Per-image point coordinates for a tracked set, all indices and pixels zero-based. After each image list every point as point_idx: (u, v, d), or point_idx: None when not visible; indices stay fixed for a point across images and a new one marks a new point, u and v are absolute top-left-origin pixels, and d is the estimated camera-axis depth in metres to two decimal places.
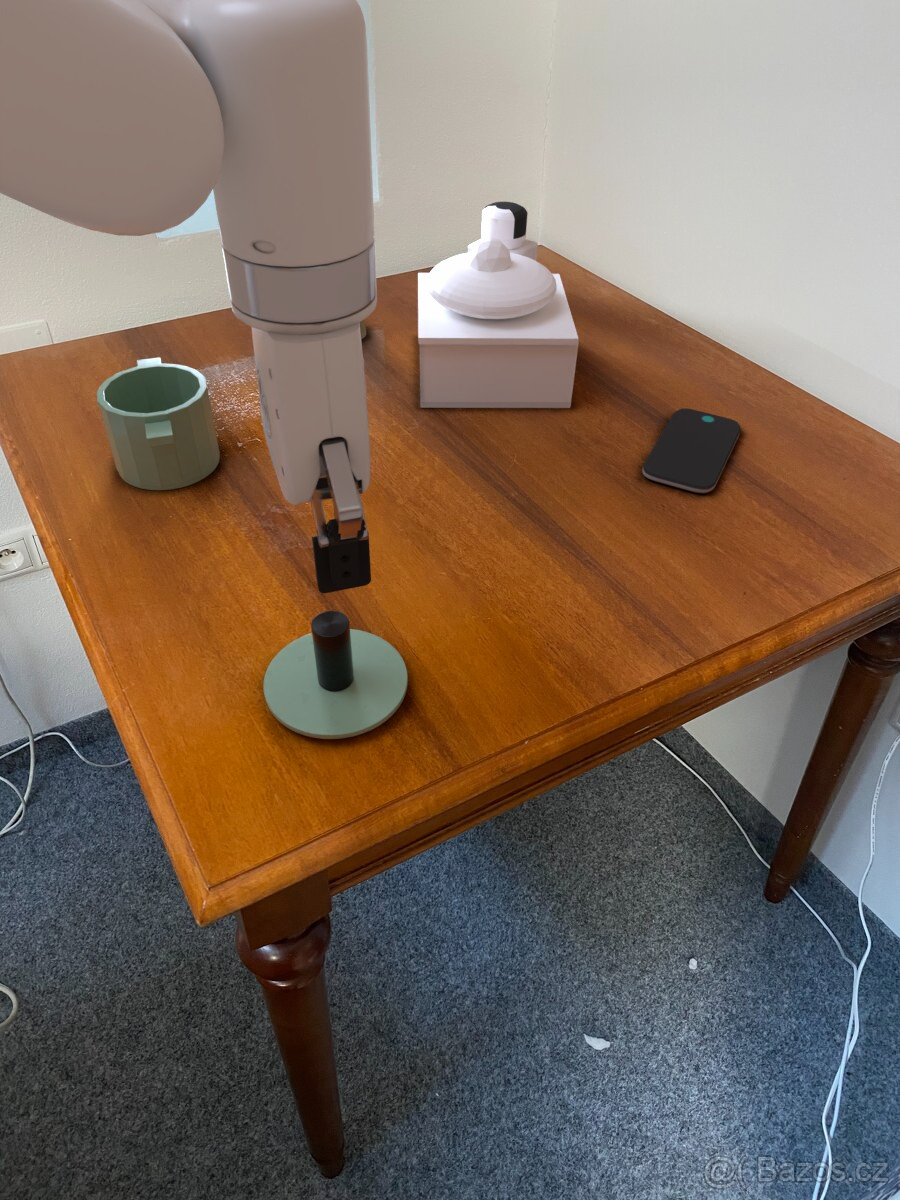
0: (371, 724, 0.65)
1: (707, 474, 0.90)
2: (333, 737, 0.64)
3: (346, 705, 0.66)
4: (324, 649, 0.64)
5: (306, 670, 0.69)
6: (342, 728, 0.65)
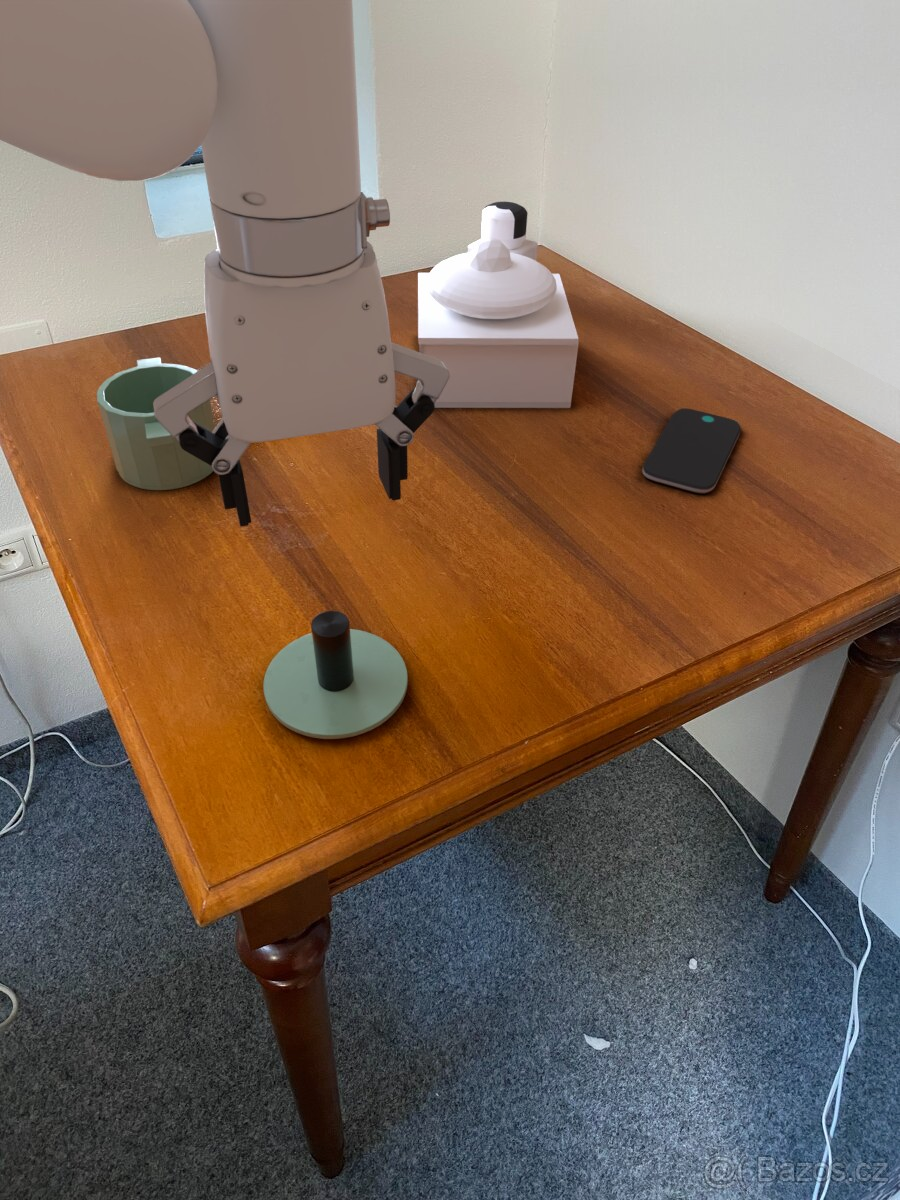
0: (371, 724, 0.65)
1: (707, 474, 0.90)
2: (333, 737, 0.64)
3: (346, 705, 0.66)
4: (324, 649, 0.64)
5: (306, 670, 0.69)
6: (342, 728, 0.65)
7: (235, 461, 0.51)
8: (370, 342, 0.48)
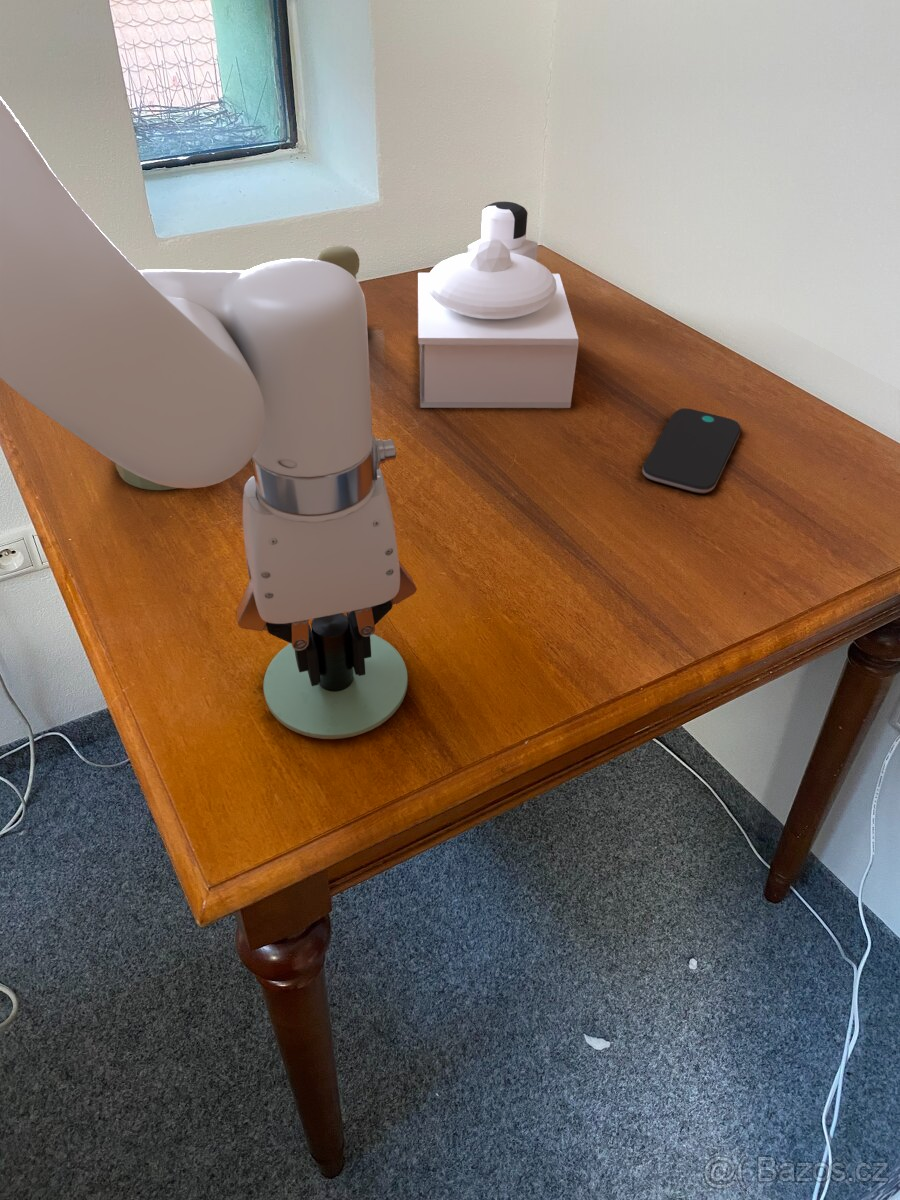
0: (371, 724, 0.65)
1: (707, 474, 0.90)
2: (333, 737, 0.64)
3: (346, 705, 0.66)
4: (325, 649, 0.64)
5: None
6: (342, 728, 0.65)
7: (307, 637, 0.63)
8: (379, 548, 0.58)
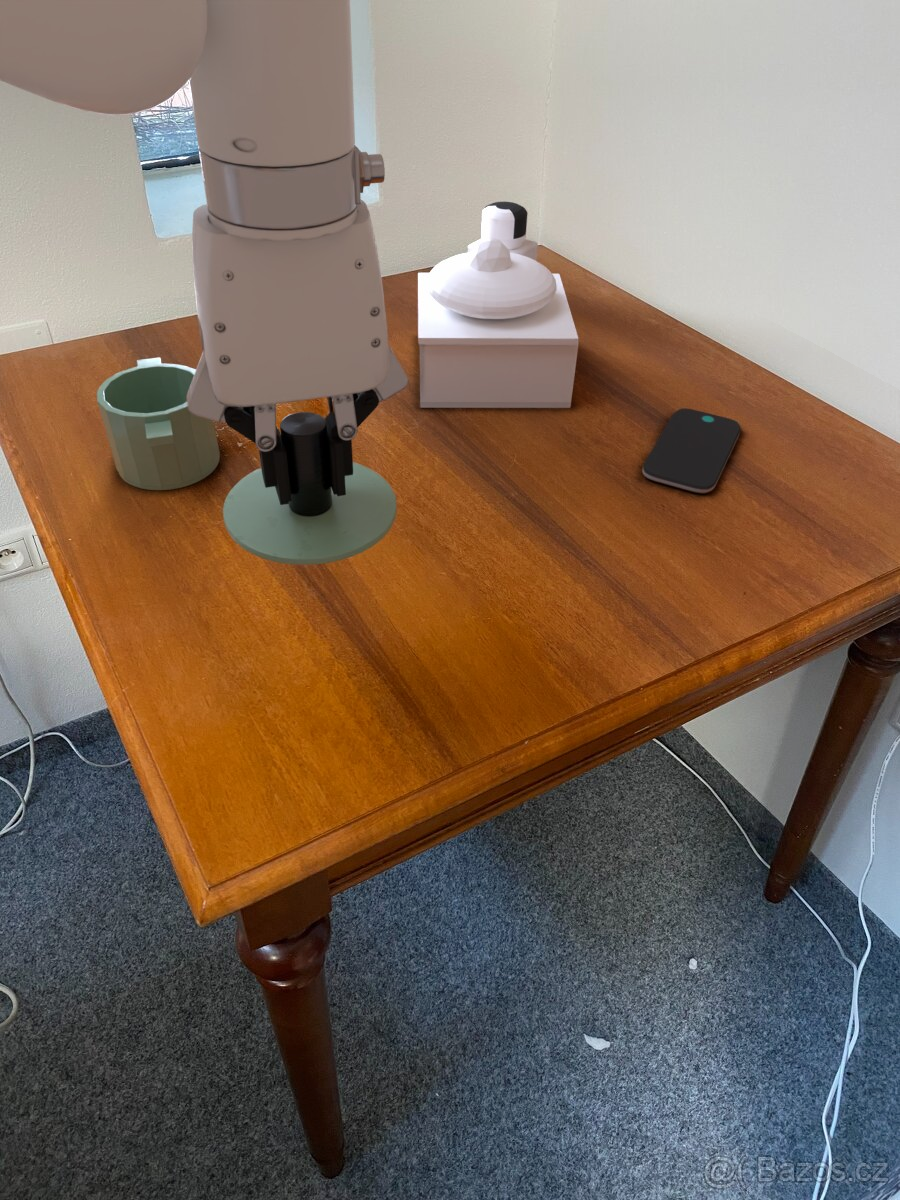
0: (351, 549, 0.54)
1: (707, 474, 0.90)
2: (305, 562, 0.53)
3: (322, 530, 0.55)
4: (296, 454, 0.53)
5: (275, 495, 0.58)
6: (316, 552, 0.53)
7: (274, 432, 0.51)
8: (363, 303, 0.47)
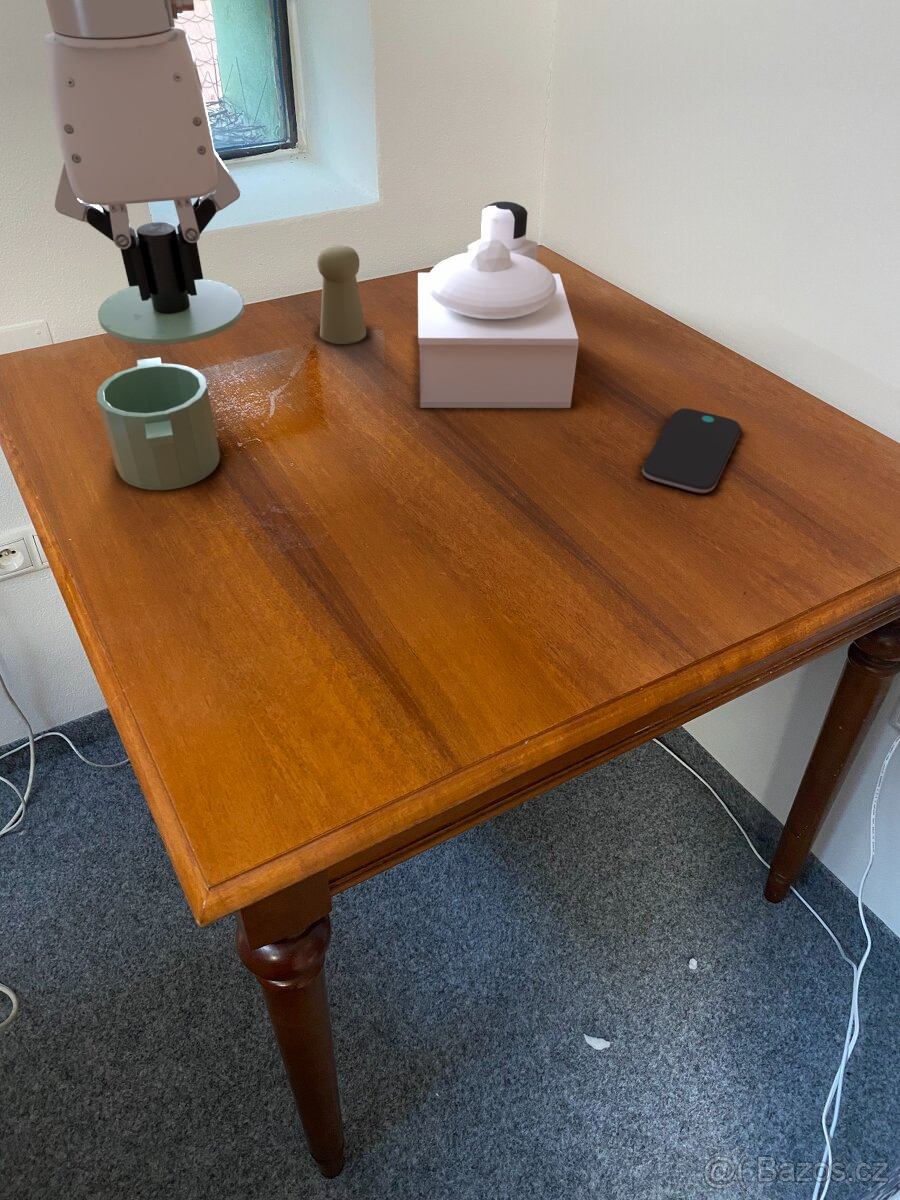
0: (197, 333, 0.66)
1: (707, 474, 0.90)
2: (158, 342, 0.65)
3: (176, 322, 0.67)
4: (150, 254, 0.65)
5: (144, 301, 0.70)
6: (167, 335, 0.66)
7: (128, 231, 0.63)
8: (185, 113, 0.59)
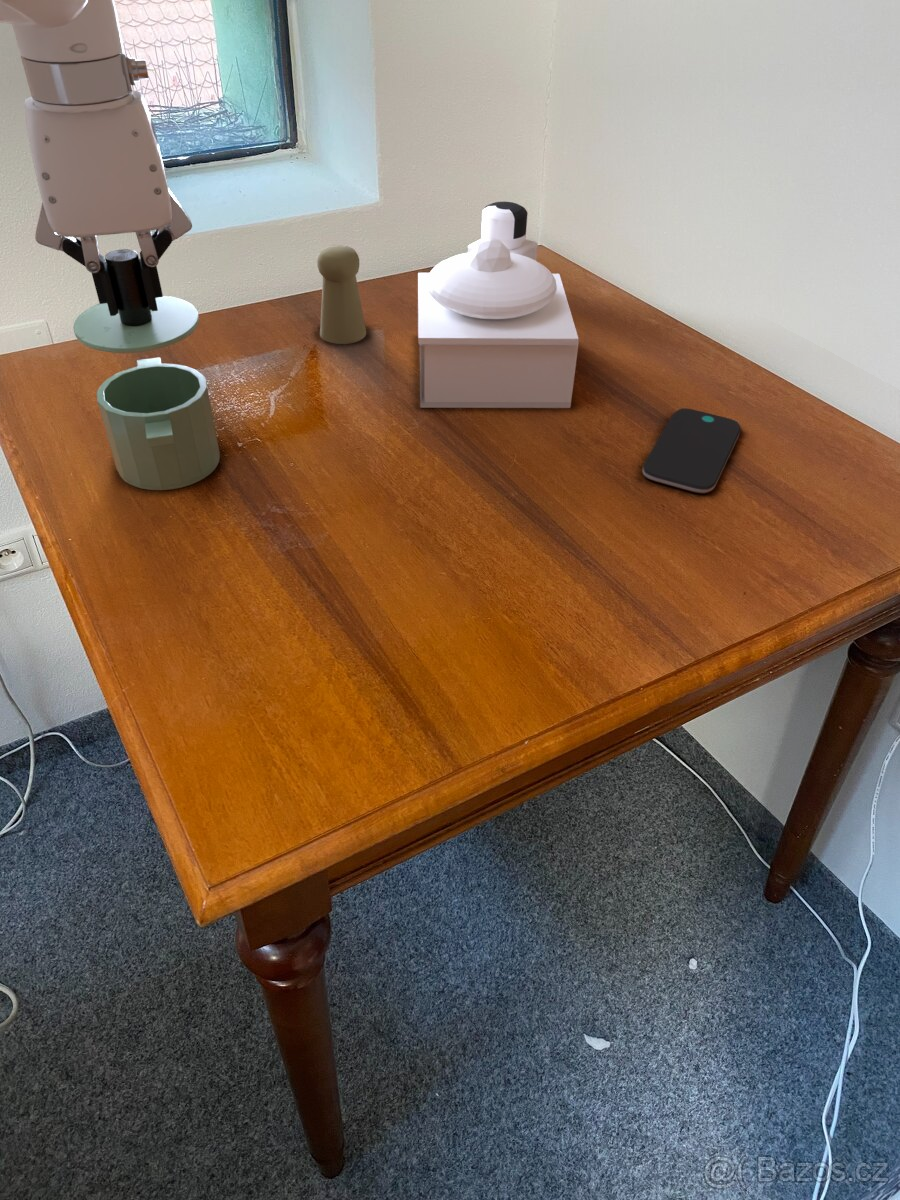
0: (158, 343, 0.78)
1: (707, 474, 0.90)
2: (124, 351, 0.77)
3: (140, 333, 0.79)
4: (116, 276, 0.77)
5: None
6: (132, 344, 0.78)
7: (97, 258, 0.76)
8: (143, 161, 0.71)
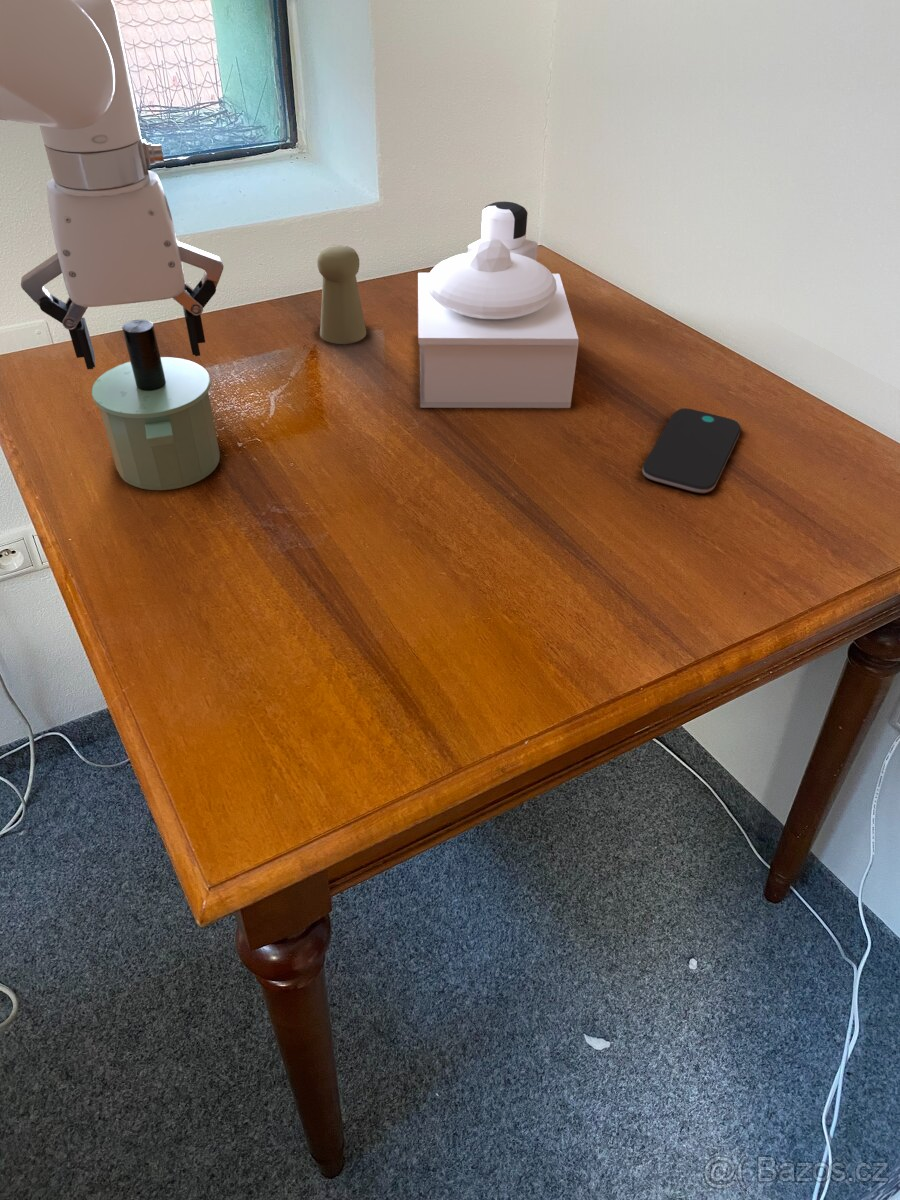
0: (172, 408, 0.82)
1: (707, 474, 0.90)
2: (140, 416, 0.82)
3: (155, 398, 0.84)
4: (133, 346, 0.82)
5: (129, 379, 0.86)
6: (148, 410, 0.82)
7: (78, 320, 0.78)
8: (158, 238, 0.75)
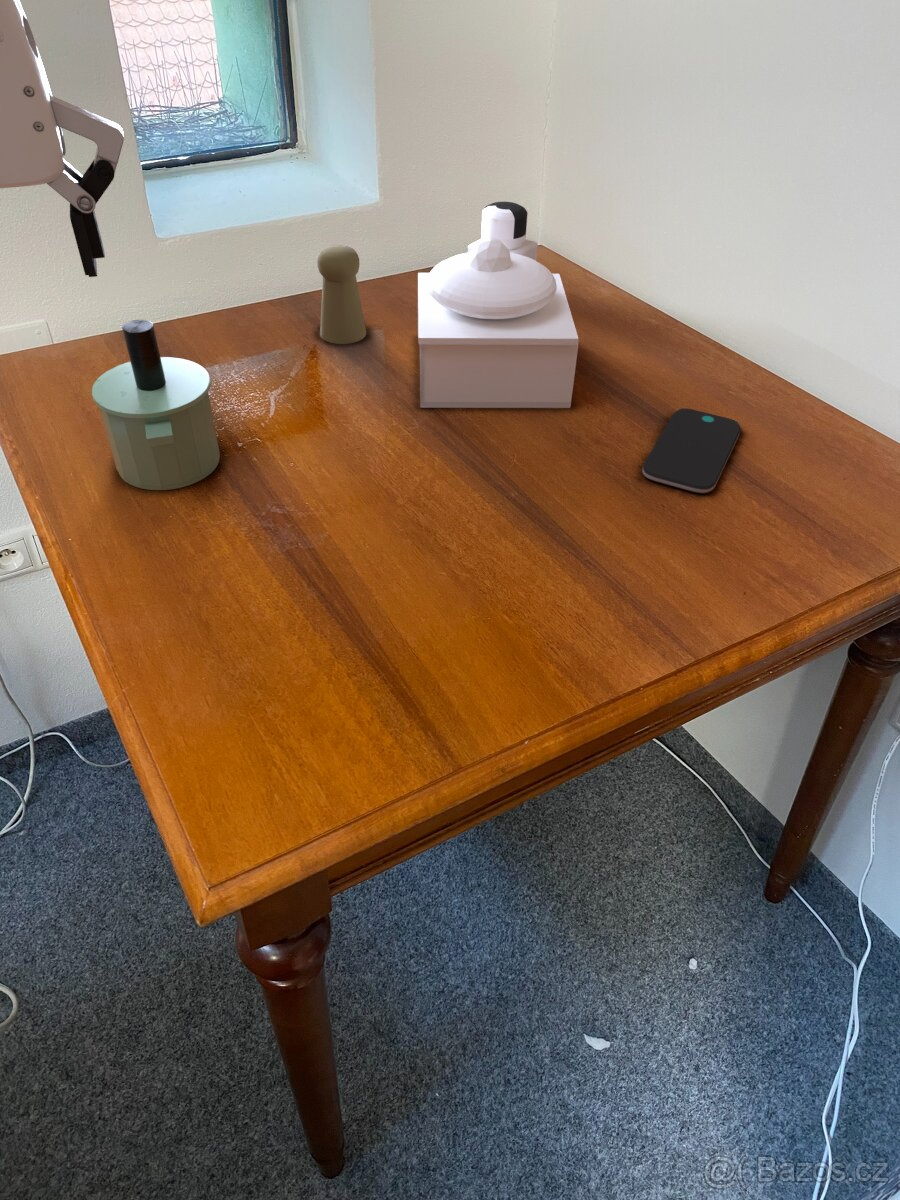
0: (172, 408, 0.82)
1: (707, 474, 0.90)
2: (140, 416, 0.82)
3: (155, 398, 0.84)
4: (133, 346, 0.82)
5: (129, 379, 0.86)
6: (148, 410, 0.82)
7: None
8: (13, 81, 0.49)
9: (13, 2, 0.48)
